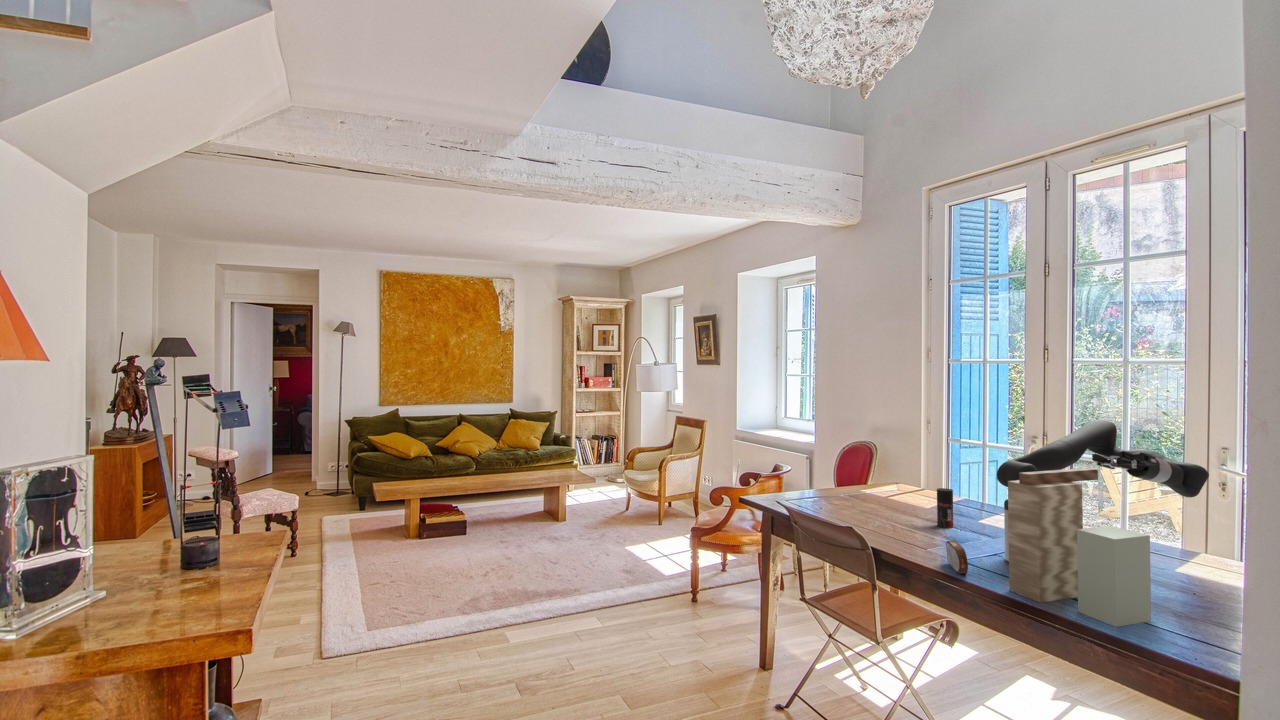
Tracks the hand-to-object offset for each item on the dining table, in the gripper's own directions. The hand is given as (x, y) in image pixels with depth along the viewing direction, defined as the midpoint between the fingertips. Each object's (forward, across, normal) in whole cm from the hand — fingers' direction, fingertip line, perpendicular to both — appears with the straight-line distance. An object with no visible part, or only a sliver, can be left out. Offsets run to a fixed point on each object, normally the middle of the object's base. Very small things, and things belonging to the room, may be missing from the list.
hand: (1106, 455), depth 188 cm
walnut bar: (+17, -1, +12) cm, 21 cm away
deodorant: (-9, -76, +20) cm, 79 cm away
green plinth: (+10, +9, +47) cm, 49 cm away
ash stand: (+14, -8, +43) cm, 46 cm away
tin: (+23, -32, +40) cm, 57 cm away
